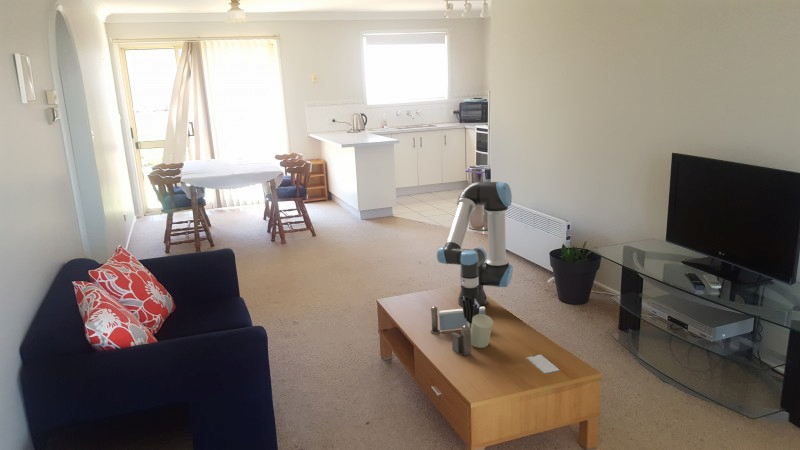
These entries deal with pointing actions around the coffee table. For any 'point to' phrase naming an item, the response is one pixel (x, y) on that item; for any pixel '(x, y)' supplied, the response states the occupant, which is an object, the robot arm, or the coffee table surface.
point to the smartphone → (542, 364)
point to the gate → (454, 318)
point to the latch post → (462, 341)
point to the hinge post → (434, 321)
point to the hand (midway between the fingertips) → (471, 334)
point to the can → (481, 330)
